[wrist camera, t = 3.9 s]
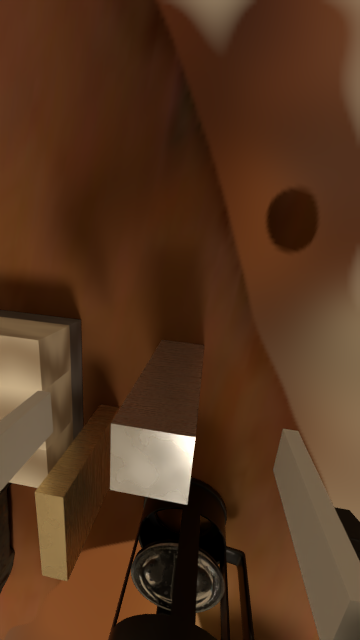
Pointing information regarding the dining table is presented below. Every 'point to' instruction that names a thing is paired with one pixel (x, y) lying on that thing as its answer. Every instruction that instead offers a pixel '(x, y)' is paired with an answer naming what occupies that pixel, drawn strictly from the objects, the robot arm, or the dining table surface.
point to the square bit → (159, 426)
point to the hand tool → (5, 539)
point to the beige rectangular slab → (74, 495)
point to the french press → (183, 571)
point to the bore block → (42, 381)
